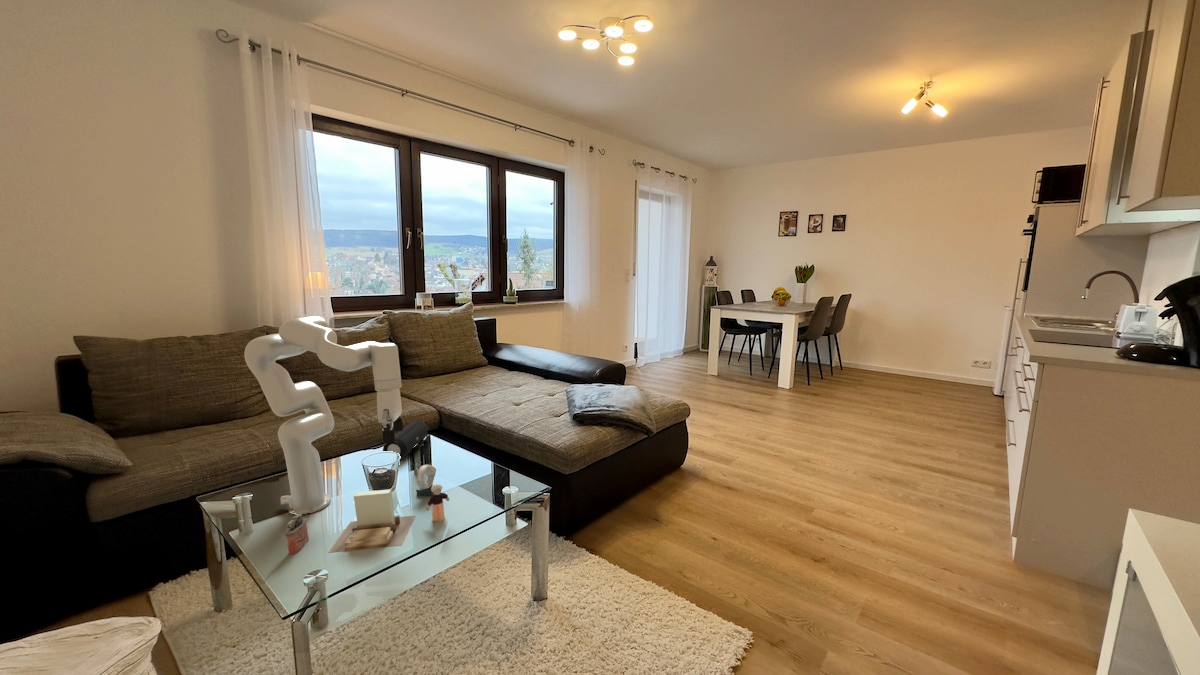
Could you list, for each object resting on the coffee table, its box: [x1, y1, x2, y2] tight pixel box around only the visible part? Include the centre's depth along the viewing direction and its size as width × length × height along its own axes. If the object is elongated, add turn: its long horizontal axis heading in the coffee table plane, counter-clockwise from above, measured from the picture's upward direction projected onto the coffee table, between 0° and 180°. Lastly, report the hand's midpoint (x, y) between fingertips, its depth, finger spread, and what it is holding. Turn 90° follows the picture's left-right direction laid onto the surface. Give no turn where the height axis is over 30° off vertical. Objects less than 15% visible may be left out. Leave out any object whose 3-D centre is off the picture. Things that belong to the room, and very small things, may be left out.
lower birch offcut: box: [345, 531, 393, 548], centre depth 136 cm, size 12×4×2 cm, turn 97°
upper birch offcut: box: [350, 527, 391, 542], centre depth 136 cm, size 10×4×2 cm, turn 97°
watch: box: [416, 464, 437, 497], centre depth 163 cm, size 6×8×11 cm
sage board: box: [353, 489, 395, 526], centre depth 141 cm, size 10×2×12 cm, turn 97°
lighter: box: [284, 514, 310, 555], centre depth 134 cm, size 8×3×10 cm, turn 5°
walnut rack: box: [328, 514, 417, 554], centre depth 140 cm, size 20×16×4 cm
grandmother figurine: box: [425, 482, 450, 522], centre depth 146 cm, size 8×4×13 cm, turn 148°
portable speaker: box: [382, 420, 429, 459], centre depth 204 cm, size 26×10×10 cm, turn 177°
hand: (393, 436), depth 145 cm, fingers open, 9 cm apart
